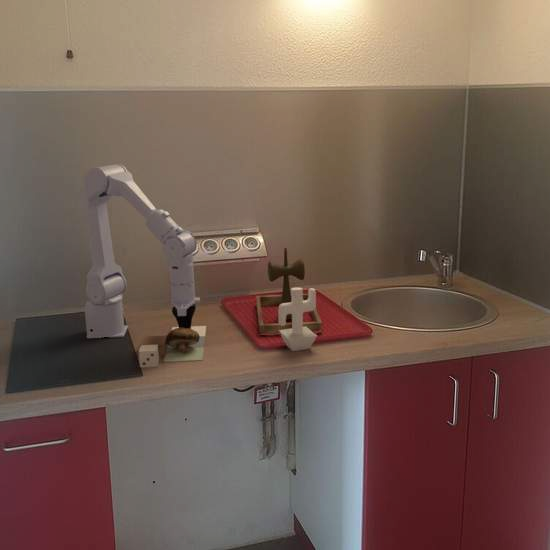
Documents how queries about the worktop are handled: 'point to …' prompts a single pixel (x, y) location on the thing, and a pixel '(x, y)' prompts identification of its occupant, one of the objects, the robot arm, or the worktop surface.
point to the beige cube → (148, 356)
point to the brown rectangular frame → (275, 328)
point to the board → (194, 350)
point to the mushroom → (182, 338)
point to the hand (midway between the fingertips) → (185, 334)
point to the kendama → (286, 276)
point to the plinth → (155, 343)
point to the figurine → (297, 320)
